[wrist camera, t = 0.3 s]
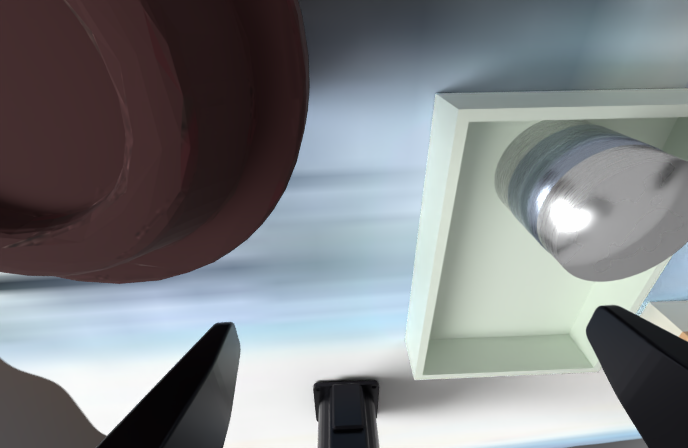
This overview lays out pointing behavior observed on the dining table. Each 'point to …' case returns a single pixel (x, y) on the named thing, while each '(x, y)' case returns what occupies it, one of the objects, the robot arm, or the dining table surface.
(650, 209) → the tin can
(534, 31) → the dining table surface
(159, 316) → the dining table surface
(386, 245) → the dining table surface
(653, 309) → the taped carton
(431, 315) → the tote
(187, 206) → the coffee cup
